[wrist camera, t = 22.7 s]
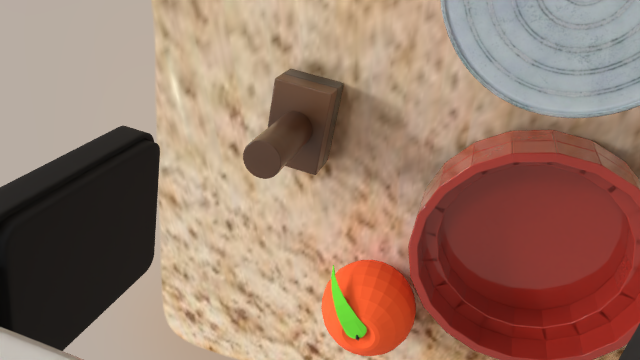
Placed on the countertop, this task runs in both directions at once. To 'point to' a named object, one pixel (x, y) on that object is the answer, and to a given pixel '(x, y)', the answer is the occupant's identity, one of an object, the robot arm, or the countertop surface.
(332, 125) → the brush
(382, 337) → the clementine
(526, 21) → the canned food
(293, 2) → the countertop surface
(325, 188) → the countertop surface
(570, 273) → the bowl
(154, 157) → the robot arm
